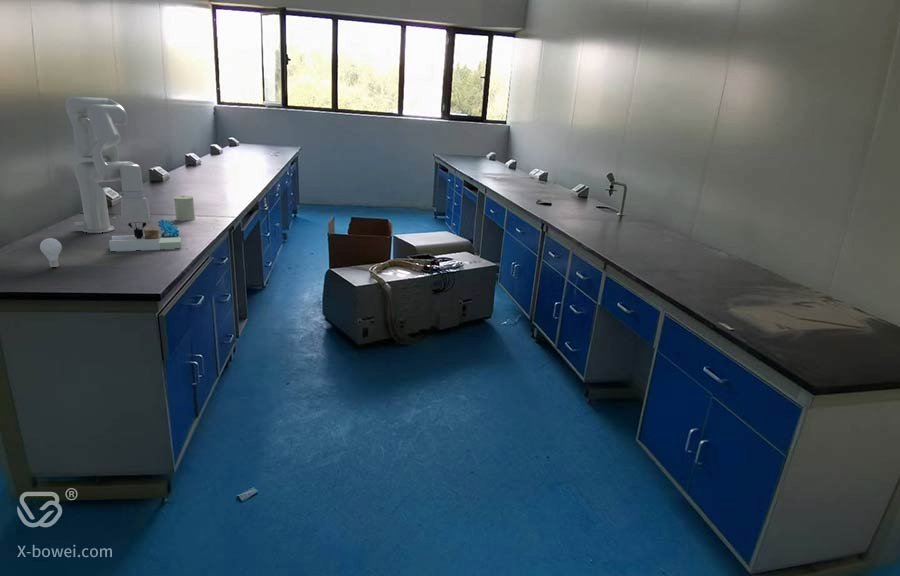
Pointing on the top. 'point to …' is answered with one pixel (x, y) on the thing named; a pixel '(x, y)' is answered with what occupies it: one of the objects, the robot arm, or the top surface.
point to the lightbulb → (51, 250)
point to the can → (184, 208)
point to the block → (152, 233)
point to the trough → (143, 243)
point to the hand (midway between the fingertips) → (139, 238)
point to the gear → (168, 228)
